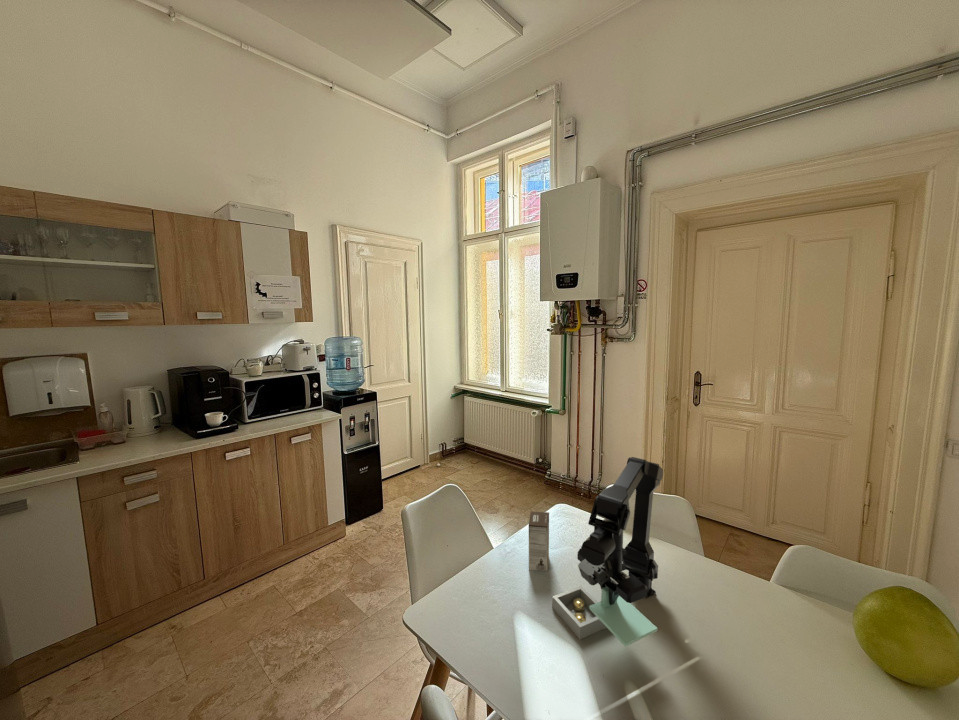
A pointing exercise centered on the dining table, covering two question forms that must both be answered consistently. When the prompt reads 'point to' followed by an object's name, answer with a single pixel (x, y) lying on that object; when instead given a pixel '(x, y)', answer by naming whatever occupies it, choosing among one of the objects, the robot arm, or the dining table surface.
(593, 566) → the robot arm
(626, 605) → the lid
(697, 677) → the dining table surface
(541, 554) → the coffee box
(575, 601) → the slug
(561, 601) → the tub
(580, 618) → the ball
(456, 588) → the dining table surface
